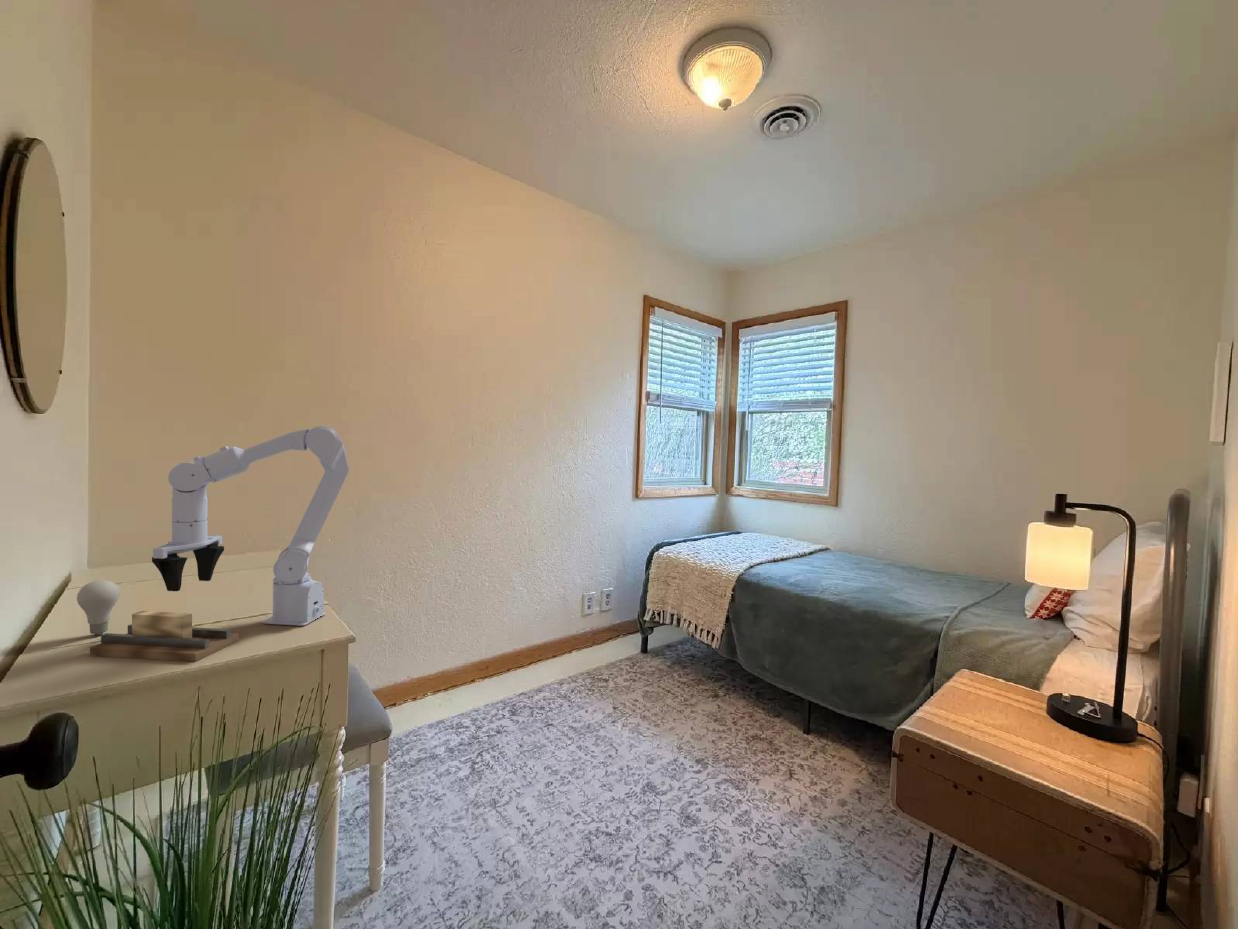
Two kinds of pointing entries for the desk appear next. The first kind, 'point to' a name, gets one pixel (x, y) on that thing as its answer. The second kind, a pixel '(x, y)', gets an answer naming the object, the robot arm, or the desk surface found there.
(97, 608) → the lightbulb
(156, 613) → the wooden block
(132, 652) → the track board
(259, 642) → the desk surface
